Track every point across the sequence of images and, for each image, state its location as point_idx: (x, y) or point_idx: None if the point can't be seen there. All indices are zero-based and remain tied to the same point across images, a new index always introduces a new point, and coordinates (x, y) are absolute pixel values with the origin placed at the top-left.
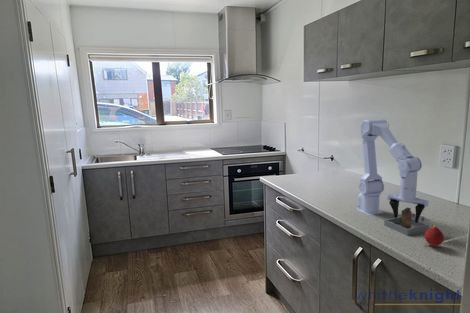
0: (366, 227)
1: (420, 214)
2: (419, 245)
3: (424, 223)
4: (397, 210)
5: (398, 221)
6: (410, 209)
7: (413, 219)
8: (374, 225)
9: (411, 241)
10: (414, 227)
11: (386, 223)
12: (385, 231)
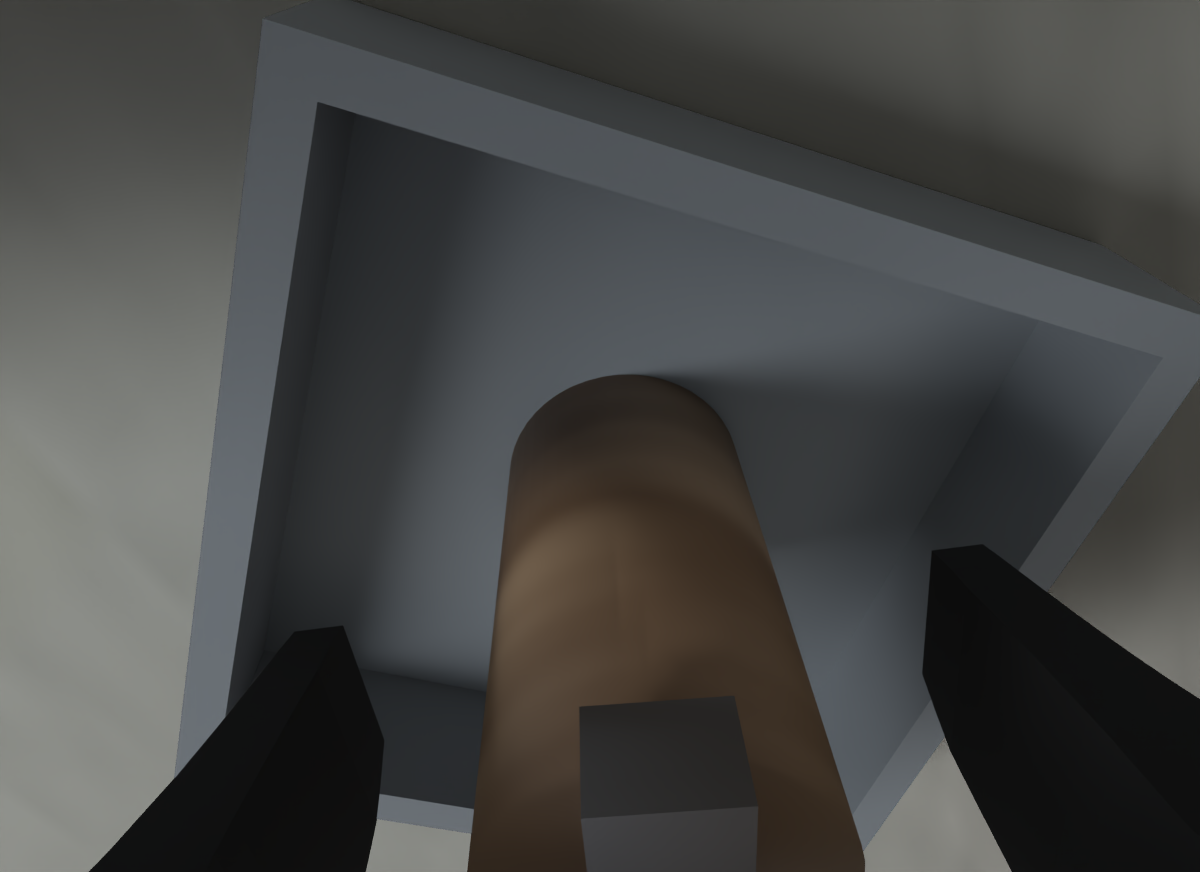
0: (78, 862)
1: (1185, 705)
2: None
3: (1107, 306)
4: (275, 855)
5: (311, 332)
6: (743, 742)
7: (714, 203)
8: (73, 715)
9: (899, 830)
10: (918, 727)
11: None
12: None
